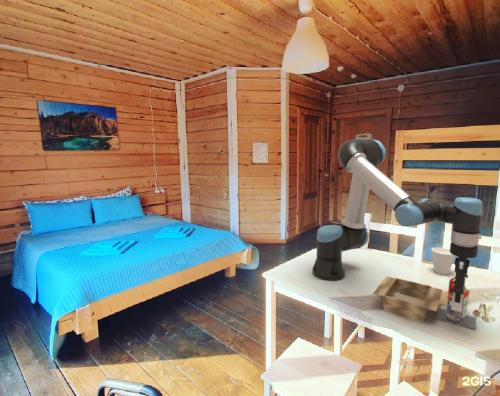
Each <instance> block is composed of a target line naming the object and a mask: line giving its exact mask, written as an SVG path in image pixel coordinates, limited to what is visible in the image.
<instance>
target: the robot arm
mask: <svg viewBox="0 0 500 396" xmlns="http://www.w3.org/2000/svg"><path fill="white" fill-rule="evenodd" d="M386 154H387V151H386V147H385V146H384V144H383V143H382V142H381V141H380V140H377V139H370V138H365V139H364V138H363V139H356V138H355V139H352V138H351V139H348V140H346V141H344V142H343V143H342V144H341V145H340V147H339V148H338V151H337V158H338V162H339V164H340V165H341V167H343V169H344V170H345V171H347V173H350V174H351V173H352V177H351V181H350V186H349V187H350V188H349V193H348V199H347V206H346V211H345V217H344V218H343V219H341V221H340V225H338V224H328V225H327V224H326V225H323V226H320V227H318V229H317V232H316V233H317V235H316V259H315V260H314V264H313V266H312V274H313V276H314V277H316V278H318V279H320V280H324V281H332V282H333V281H340V280H343V279H344V278H345V277H346V271H345V267H344V264H343V260H342V257H343V252H347V251H351V250H357V249H360V248H363V247H364V246H365V245H366V244H367V243H368V241H369V232H368V229H367V227H366V224H365V222H364V220H365V215H366V214H365V213H366V209H367V205H368V199H369V194H370V190H371V191H372V192H373V193H374V194H375V195H376V196H377V197H378V198H380V199H381V201H383V202H384V203H385V204H386V205H387V206H388V207H389V208H390V209H391V210H392V211H393V212H394V218H395V220H396V222H397V223H398V224H399V225H400V226H403V227H416V226H419V225H424V224H430V223H435V222H439V223H444V224H451V226H452V227H451V232H450V233H451V235H450V241H451V242H450V246H449V249H450V253H451V254H453V255H455V256H456V257H455V258H454V259H455V260H454V273H455V276H454V277H455V279H454V280H455V284H454V289H451V292H453V299H452V309H451V310H455V311H459V312H461V311H462V302H463V293H464V292H463V289H464V288H465V287H466V279H468V278H469V274H468V271H469V270H468V269H469V268H470V259H475V258H476V257H477V256H478V253H479V252H478V251H479V250H478V249H479V247H478V245H479V240H481V239H482V236H481V235H480V231H481V223H482V217H483V201H482V200H481V199H479V198H475V197H462V196H461V197H456V198H455V200H454V202H453V201H451V202H450V201H445V200H441V199H440V200H438V199H435V198H422V199H421V200H419V201H417V199H414V198H413V197H412V196H411V195H410V194H408V193H407V191H405V190H404V189H402V188H401V187H400V186H399V185H398V184H396V183H395V182H394V181H393V180H392V179H391V178H390V177H388V176H387V175H386V174H385V173H384V172H383V171H381V170H380V169H379V165H381V164H382V163H383V162H384V161H385V159H386ZM459 289H460V290H459Z"/></svg>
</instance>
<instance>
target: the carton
mask: <svg viewBox="0 0 500 396" xmlns="http://www.w3.org/2000/svg"><path fill="white" fill-rule="evenodd" d="M396 293H399V294H402V295H406V296H410V297H414V298H418V299H421V300H423V303H422V304H418V303H414V302H411V301H408V300H403V299H401V298H396V297H394V295H395V294H396ZM372 294H373V295H377V296H380V297H382V298H383V299H382V311H383V312H386V313H389V314H392V315H396V316H398V317H403V318H405V319H409V320H412V321H415V322H418V323H424V320H425V317H426V314H427V311H428V310H430V311H433V312H438V309H439V303H440V300H441V297H442V294H443V289H442V288H438V287H433V286H432V285H429V284H425V283H424V284H423V283H419V282H415V281H412V280H407V279H402V278H398V277H391V276H387V275H386V276H385V277H383V280H382V281H381V282H380V284H378V286H377V287H376V289H375V290H374V291H373V293H372Z"/></svg>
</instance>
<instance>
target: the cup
mask: <svg viewBox="0 0 500 396" xmlns="http://www.w3.org/2000/svg"><path fill="white" fill-rule="evenodd" d="M430 250H431V256H432V263H433V264H432V265H433V272H434V273H435V274H438V275H442V276H443V275H444V276H446V275H449V274H450V272H451V270H452V269H451V268H452V265H453V262H454V259H455V256H456V255H453V254H451V253H450V248H447V247H432V248H430Z"/></svg>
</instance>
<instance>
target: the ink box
mask: <svg viewBox="0 0 500 396" xmlns="http://www.w3.org/2000/svg"><path fill="white" fill-rule="evenodd" d="M454 284H455V276H454V277H451V278H450V279H449V282H448V290H447V291H448V292H447V301H446V302H447V303H446V319H448V320H451V321H453V322H456V323H457V322H459V321H460V320H461V319H463V318H464V317H465V316H466V315H467V312H468V304H469V303H468V302H469V301H468V300H469V295H468V293H469V292H470V291H469V289H467V288H466V289H467V290H466V289H463V292H464V293H463V302H462V311H461V312H459V311H455V310H451V309H452V299H453V292H451V289H454ZM459 290H460V289H459ZM469 294H470V293H469Z"/></svg>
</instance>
